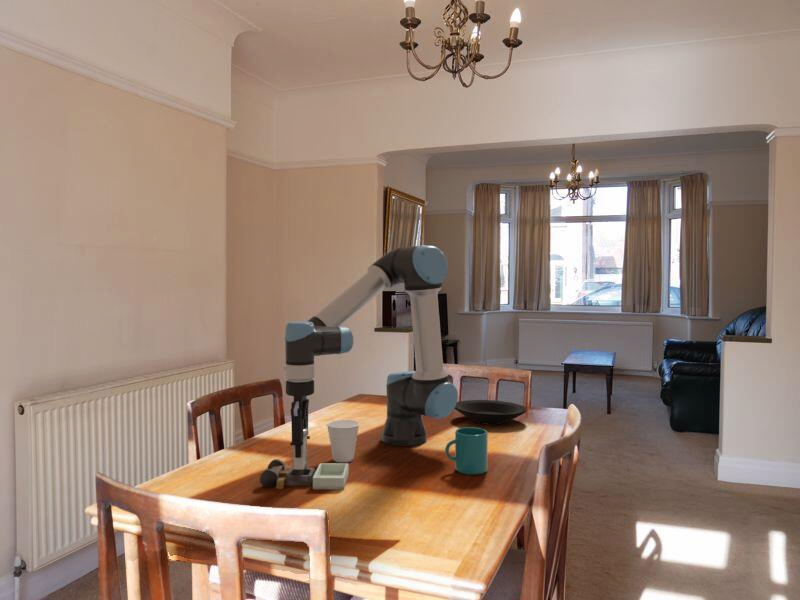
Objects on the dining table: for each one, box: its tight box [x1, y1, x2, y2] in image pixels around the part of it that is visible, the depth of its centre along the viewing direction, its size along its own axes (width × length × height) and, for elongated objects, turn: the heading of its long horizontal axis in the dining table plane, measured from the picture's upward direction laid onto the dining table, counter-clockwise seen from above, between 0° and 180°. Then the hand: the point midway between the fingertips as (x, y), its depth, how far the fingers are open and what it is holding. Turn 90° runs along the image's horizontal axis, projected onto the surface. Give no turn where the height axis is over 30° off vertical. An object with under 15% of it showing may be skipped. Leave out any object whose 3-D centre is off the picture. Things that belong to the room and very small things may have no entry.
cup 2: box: [444, 426, 489, 476], centre depth 169 cm, size 9×12×11 cm
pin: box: [292, 427, 309, 475], centre depth 160 cm, size 4×4×14 cm
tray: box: [312, 462, 350, 491], centre depth 160 cm, size 8×12×3 cm, turn 179°
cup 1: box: [325, 419, 360, 464], centre depth 179 cm, size 10×10×11 cm
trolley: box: [259, 458, 316, 490], centre depth 160 cm, size 13×11×4 cm
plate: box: [453, 399, 527, 426], centre depth 227 cm, size 28×24×6 cm
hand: (300, 466), depth 160 cm, fingers closed on pin, 3 cm apart
